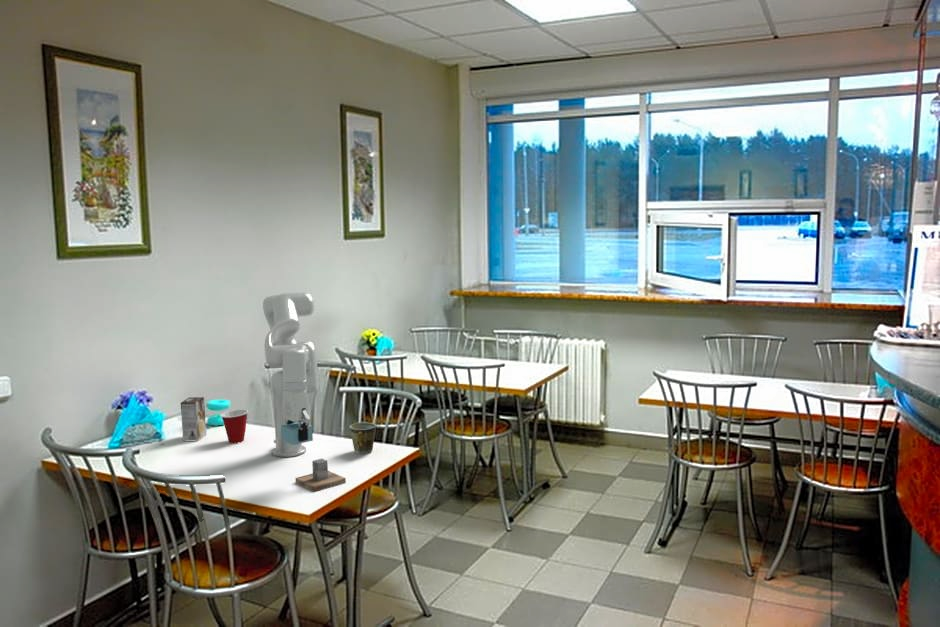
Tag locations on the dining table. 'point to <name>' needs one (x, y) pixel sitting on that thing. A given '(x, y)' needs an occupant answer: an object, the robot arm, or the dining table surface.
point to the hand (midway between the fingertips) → (297, 437)
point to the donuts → (217, 406)
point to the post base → (320, 483)
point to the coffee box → (193, 418)
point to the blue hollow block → (294, 433)
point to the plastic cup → (235, 424)
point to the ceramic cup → (363, 437)
